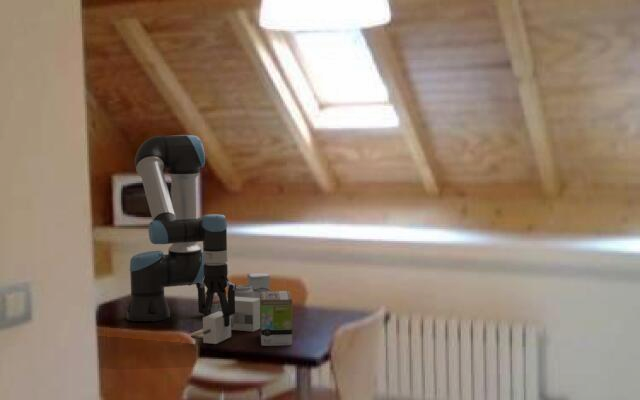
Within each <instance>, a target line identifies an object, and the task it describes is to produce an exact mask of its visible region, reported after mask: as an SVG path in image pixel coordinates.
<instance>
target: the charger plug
mask: <svg viewBox="0 0 640 400" xmlns="http://www.w3.org/2000/svg"><path fill="white" fill-rule="evenodd" d="M222 316H223V313H222V310H221V311H218V312H216V313H213V314H211V315H208V316H206V317H203V316H202V329H203V338H202V339H203V344H213V345H217V344H219V343H222V342H223V341H225V340H227V339H230V338H231V337H232V330H231V328H232V327H233V318H231V315H230V317H229V318H230V325H229V326H228V336H226V337H224V338H223V337H222V335H221V317H222Z"/></svg>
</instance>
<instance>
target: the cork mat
mask: <svg viewBox="0 0 640 400" xmlns="http://www.w3.org/2000/svg"><path fill="white" fill-rule="evenodd" d="M189 334H190V335H192V336H193V337H192V338H198V339H203V328H201V329H199V330H197V331H194V332H191V333H189Z"/></svg>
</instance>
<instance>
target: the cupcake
mask: <svg viewBox="0 0 640 400" xmlns="http://www.w3.org/2000/svg"><path fill="white" fill-rule="evenodd" d="M206 293H207V290H205V303H206V297H207V294H206ZM218 311H221V312H222V308H221V304H220V300H219V296H218V295H217V293H215V294H214V297H213V302H212V308H211V312H212V313H211V314H213V313H216V312H218ZM201 315H202V318H203V317H204V314H202V313H201Z"/></svg>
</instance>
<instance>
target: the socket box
mask: <svg viewBox="0 0 640 400" xmlns="http://www.w3.org/2000/svg"><path fill="white" fill-rule="evenodd" d="M226 298H227V302H228V297H226ZM231 318H233V327H232V328H231V331H242V332H244V331H245V332H252V333H253V332H255V331H258V330H260V298H248V297H235V314H232V315H231Z"/></svg>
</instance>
